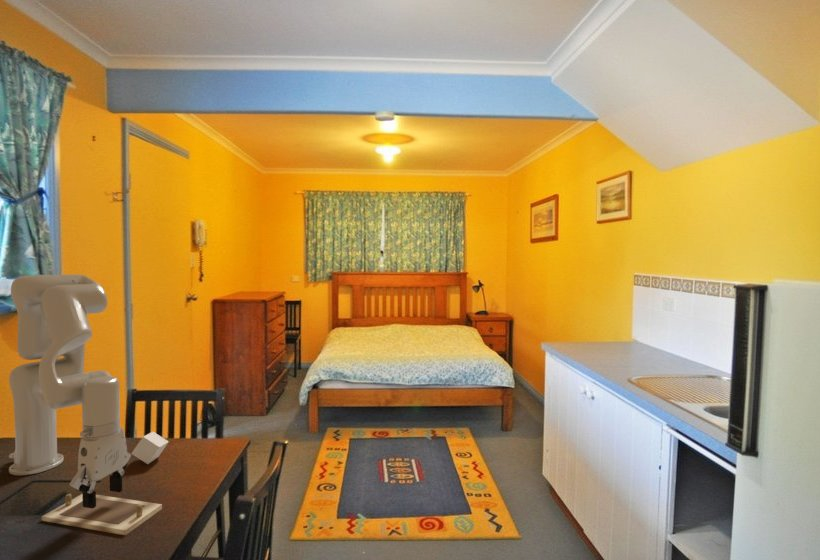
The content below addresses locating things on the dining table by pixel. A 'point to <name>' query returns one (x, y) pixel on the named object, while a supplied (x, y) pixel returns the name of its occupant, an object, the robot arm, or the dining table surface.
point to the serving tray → (103, 514)
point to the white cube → (150, 447)
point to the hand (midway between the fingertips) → (103, 498)
